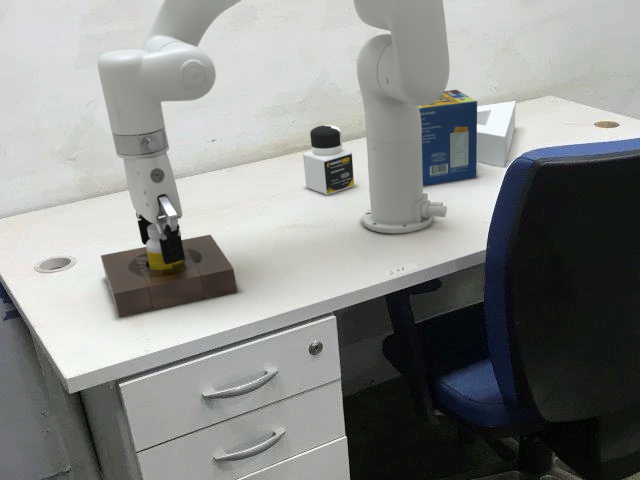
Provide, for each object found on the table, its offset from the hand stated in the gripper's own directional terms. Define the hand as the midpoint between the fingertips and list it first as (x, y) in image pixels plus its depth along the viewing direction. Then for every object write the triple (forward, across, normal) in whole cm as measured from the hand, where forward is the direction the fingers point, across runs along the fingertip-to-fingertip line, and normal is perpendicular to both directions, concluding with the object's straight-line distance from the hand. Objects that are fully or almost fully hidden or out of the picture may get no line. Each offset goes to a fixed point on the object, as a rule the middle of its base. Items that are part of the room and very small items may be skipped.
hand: (163, 251), depth 131 cm
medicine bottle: (+6, +25, -43) cm, 50 cm away
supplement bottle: (+6, 0, 0) cm, 6 cm away
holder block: (+6, 0, 0) cm, 6 cm away
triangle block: (+6, +29, -86) cm, 91 cm away
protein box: (+6, +16, -63) cm, 66 cm away
